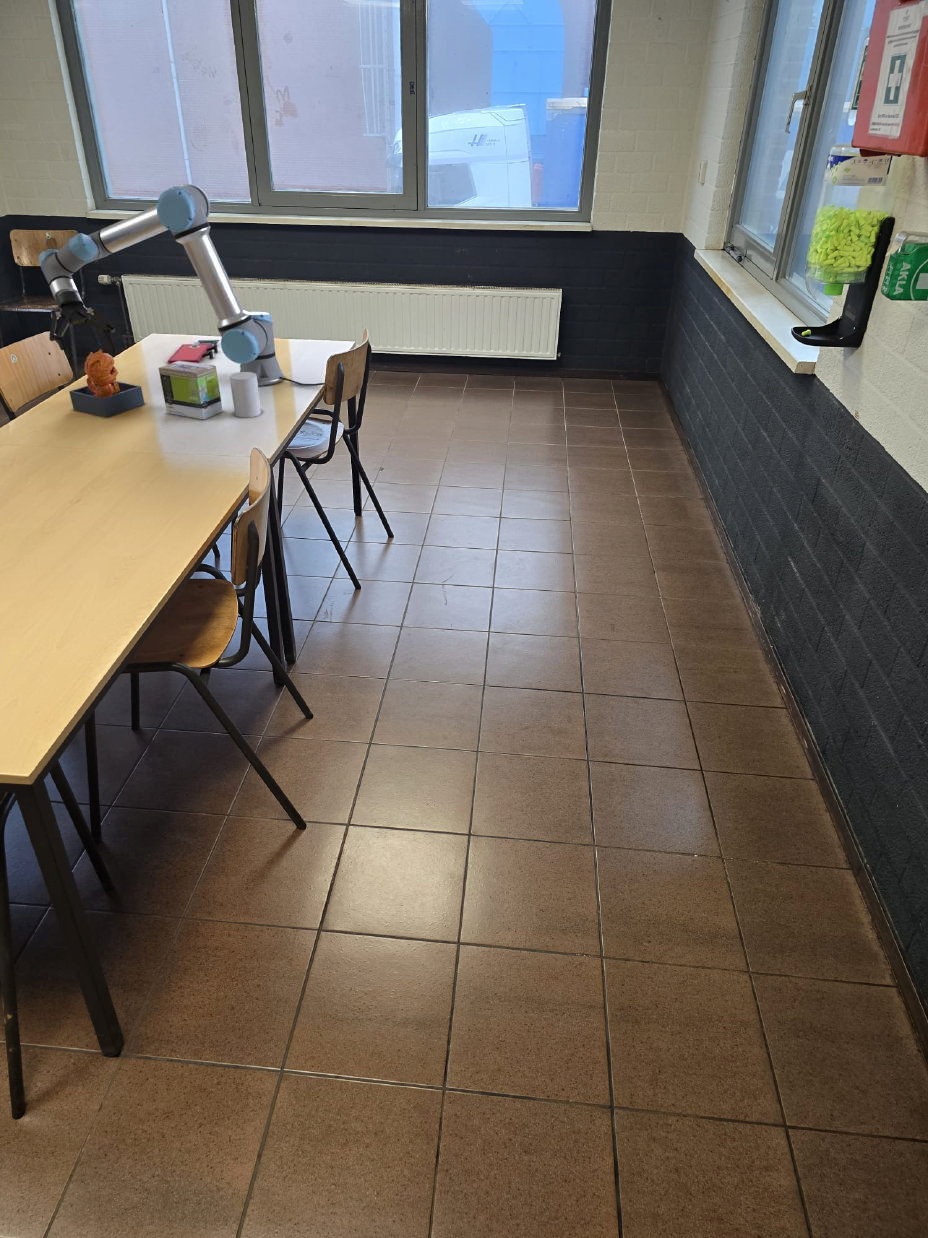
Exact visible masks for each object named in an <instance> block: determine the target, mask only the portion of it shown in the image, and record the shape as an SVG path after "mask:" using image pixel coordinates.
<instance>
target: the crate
mask: <svg viewBox="0 0 928 1238" xmlns="http://www.w3.org/2000/svg"><path fill="white" fill-rule="evenodd" d="M115 381H117V383H118V386H119V389H120V392H119V393H117V394H114V395H111V396H108V397H105V398H100V397H96V396H94V393H93V392H91V391H90V390H89V387H88V385H85V386H82V387H79V388H78V387H77V388H75V389H72V390H69V391H68V393H69V397H70V401H71V405H72V409H73V410H74V411H76V412H82V413H85V414H90V415H94V416H99V417H102V418H106V419H108V418H111V417H113V416H114V417H115V416H116V415H119V414H121V413H126V412H127V411H130V410H133V409H137V408H139V407H142V406H144V405H146V404H145V398H144V393H143V388H142V385H138V384H137V385H136V384H132V383H127V382H124V381H118V380H115ZM115 381H113V382H112V383H110V384H111V385H112V386H113V390H114V385H113V383H114V382H115ZM94 385H95V384H94ZM97 386H98V385H95V387H96V388H97Z"/></svg>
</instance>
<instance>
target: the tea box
mask: <svg viewBox="0 0 928 1238" xmlns="http://www.w3.org/2000/svg"><path fill="white" fill-rule="evenodd" d="M158 373H159V379H160V383H161V389H162V395H163V399H164V400H163V401H164V406H165V410H166V413H167V414H171V415H177V416H183V417H188V418H193V419H198V420H199V419H200V420H206V419H209V418H211V417H214V416H215V415H218V414H219V413H222V412H223V406H222V396H221V391H220V384H219V378H218V371H217V366H216V365H213V364H207V363H200V362H199V363H192V362H185V361H177V362H174V363H167V364H166V365H162V366H160V367H158Z"/></svg>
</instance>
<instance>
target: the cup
mask: <svg viewBox="0 0 928 1238" xmlns="http://www.w3.org/2000/svg"><path fill="white" fill-rule="evenodd" d="M229 382H230V389H231V396H232V403H233V411H234V415H235V416H236V417H239V418H253V417H257V416H260V415H261V414H262V408H261V401H260V393H259V386H258V384H257V376H256V374H255V373H252V372H240V371H238V372H234V373H231V374H230V375H229Z"/></svg>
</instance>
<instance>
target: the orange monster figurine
mask: <svg viewBox="0 0 928 1238" xmlns="http://www.w3.org/2000/svg"><path fill="white" fill-rule="evenodd" d="M114 365H115V359H114V357H113V356H112V355H111V354H109V353H106V352H103V349H101V348H99V350H98V351H96V352H94V353H93V352H92V351H90V352H89V355H88V356H87V357H86V360H85V361H84V368H83V371H84V372H85V374H86V375H87V378H86V381H85V382H86V384H87V385H86V386H88V387H89V390H90V391H91V392H93V393H94V396H96V397H100V398H105V397H108V396H111V395H114V394H117V393H119V392H120V389H119V386H118V383H117V381H118V380H117V377H118V374H119V371H118V369H117V368H116V366H114ZM113 381H115V382H114V383H113V385H114V390H113V386H112V385H111V384H110V383H112V382H113ZM94 384H95V385H98V386H97V388H96V387H95V385H94Z"/></svg>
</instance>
